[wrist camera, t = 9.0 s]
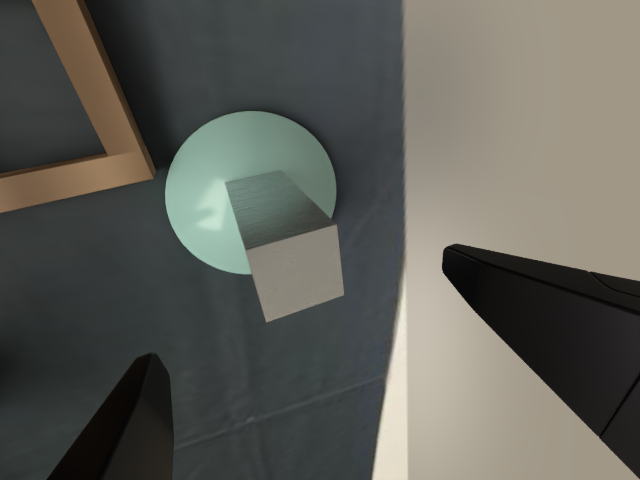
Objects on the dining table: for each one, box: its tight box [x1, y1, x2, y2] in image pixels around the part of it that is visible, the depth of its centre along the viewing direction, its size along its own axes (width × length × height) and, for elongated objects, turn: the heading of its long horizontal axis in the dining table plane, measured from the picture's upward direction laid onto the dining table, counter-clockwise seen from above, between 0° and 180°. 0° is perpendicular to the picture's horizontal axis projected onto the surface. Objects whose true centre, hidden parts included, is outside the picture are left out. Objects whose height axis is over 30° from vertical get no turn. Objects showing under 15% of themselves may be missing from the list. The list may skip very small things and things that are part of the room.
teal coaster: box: [165, 111, 336, 274], centre depth 20 cm, size 11×11×1 cm
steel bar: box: [224, 170, 344, 322], centre depth 16 cm, size 4×4×9 cm
